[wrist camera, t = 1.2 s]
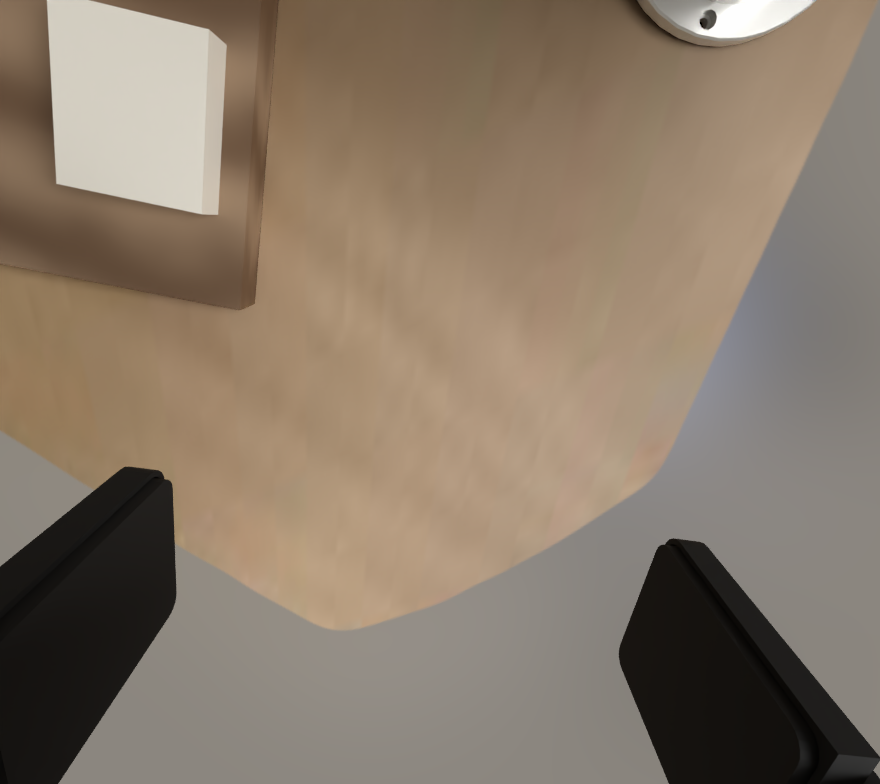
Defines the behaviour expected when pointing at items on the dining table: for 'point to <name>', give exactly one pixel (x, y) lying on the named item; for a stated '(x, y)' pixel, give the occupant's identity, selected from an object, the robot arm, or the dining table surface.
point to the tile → (136, 105)
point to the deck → (124, 220)
